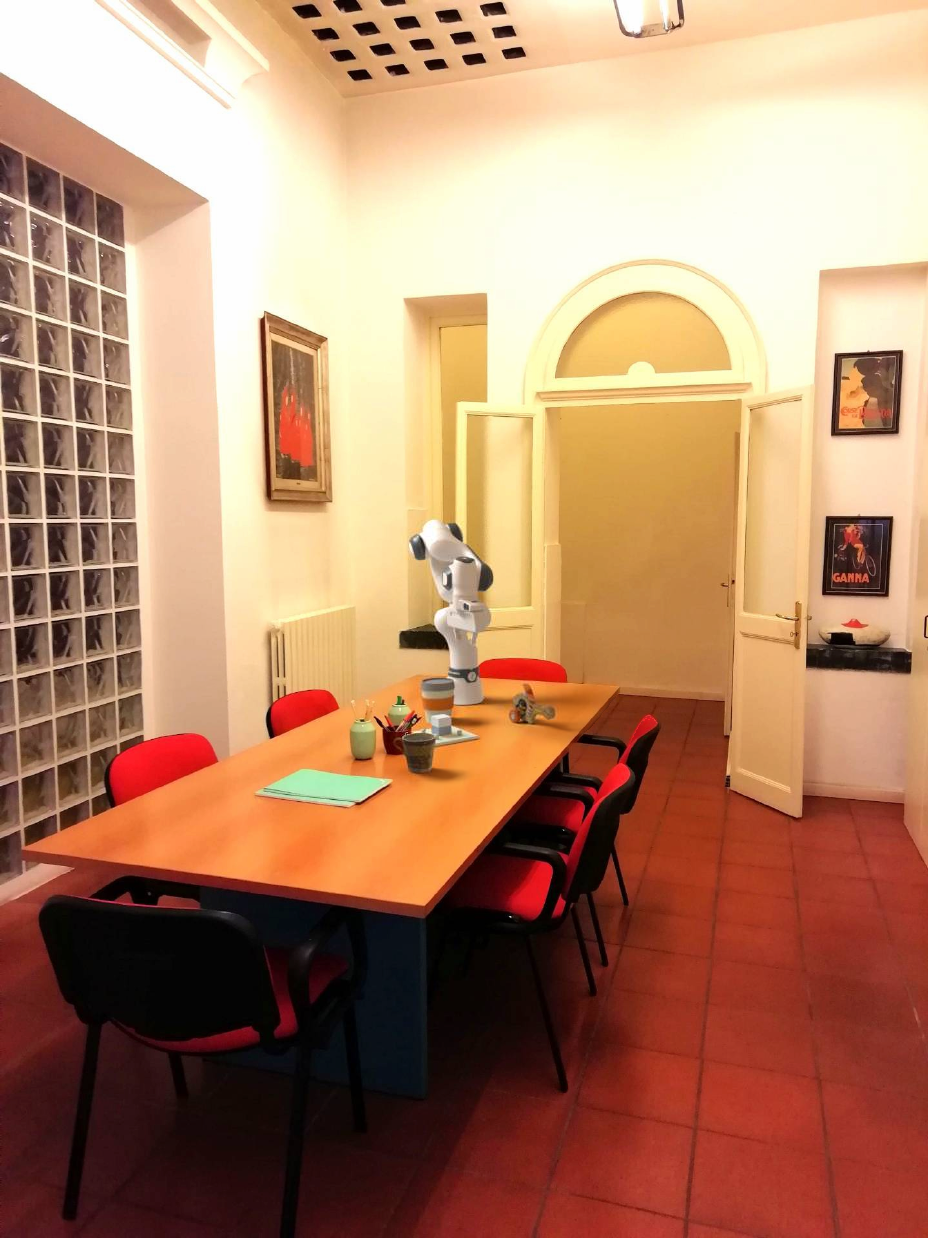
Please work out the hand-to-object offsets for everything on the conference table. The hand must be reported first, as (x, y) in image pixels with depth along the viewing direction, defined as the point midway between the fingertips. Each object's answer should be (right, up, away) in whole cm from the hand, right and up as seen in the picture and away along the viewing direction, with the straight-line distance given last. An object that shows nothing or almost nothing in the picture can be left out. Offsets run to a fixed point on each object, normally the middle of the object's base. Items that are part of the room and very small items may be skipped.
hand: (465, 642), depth 309 cm
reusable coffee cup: (-10, -29, +12) cm, 33 cm away
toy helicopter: (+24, -30, +4) cm, 38 cm away
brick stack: (-8, -31, -12) cm, 34 cm away
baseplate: (-8, -32, -12) cm, 35 cm away
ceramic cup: (-15, -37, -49) cm, 63 cm away
